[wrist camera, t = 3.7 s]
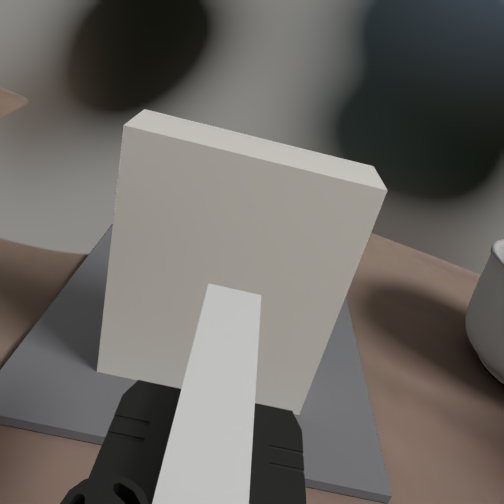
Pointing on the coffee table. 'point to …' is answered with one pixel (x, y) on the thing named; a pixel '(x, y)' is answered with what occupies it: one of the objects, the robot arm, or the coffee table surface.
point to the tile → (230, 248)
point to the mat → (113, 387)
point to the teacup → (489, 314)
